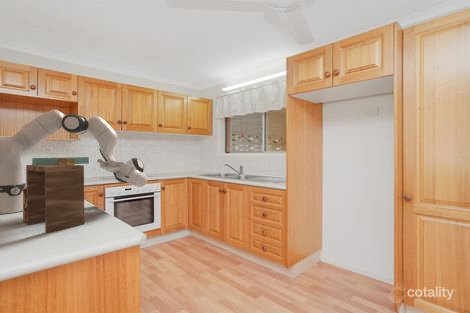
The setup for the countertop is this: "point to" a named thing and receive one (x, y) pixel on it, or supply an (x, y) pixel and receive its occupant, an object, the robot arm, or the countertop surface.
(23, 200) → the candy box
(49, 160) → the teal block
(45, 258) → the countertop surface
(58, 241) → the countertop surface
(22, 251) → the countertop surface
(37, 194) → the wooden cabinet unit
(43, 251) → the countertop surface
